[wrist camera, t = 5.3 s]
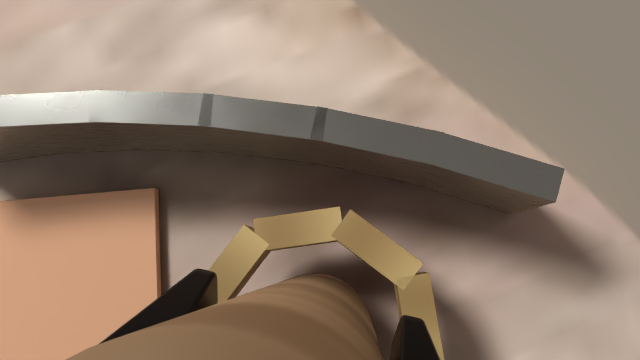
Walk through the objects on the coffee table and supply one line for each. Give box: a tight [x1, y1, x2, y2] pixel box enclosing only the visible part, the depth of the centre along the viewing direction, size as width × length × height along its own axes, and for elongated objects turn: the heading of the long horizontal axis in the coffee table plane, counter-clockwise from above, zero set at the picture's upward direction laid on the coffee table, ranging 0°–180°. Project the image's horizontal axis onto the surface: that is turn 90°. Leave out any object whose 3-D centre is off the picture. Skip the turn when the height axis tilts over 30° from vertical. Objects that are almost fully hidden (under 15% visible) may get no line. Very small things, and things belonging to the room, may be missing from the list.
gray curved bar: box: [0, 90, 564, 214], centre depth 16 cm, size 16×21×4 cm
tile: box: [0, 188, 161, 360], centre depth 18 cm, size 8×8×1 cm
